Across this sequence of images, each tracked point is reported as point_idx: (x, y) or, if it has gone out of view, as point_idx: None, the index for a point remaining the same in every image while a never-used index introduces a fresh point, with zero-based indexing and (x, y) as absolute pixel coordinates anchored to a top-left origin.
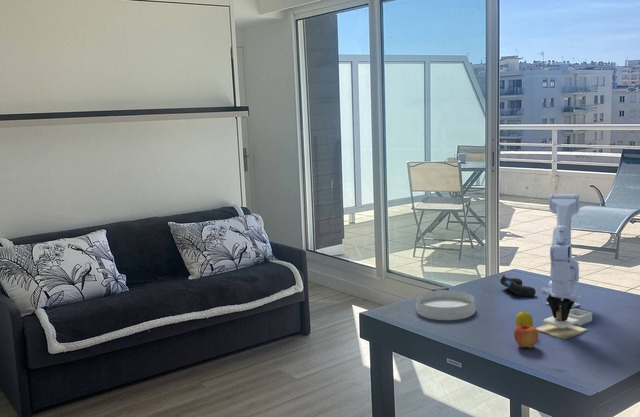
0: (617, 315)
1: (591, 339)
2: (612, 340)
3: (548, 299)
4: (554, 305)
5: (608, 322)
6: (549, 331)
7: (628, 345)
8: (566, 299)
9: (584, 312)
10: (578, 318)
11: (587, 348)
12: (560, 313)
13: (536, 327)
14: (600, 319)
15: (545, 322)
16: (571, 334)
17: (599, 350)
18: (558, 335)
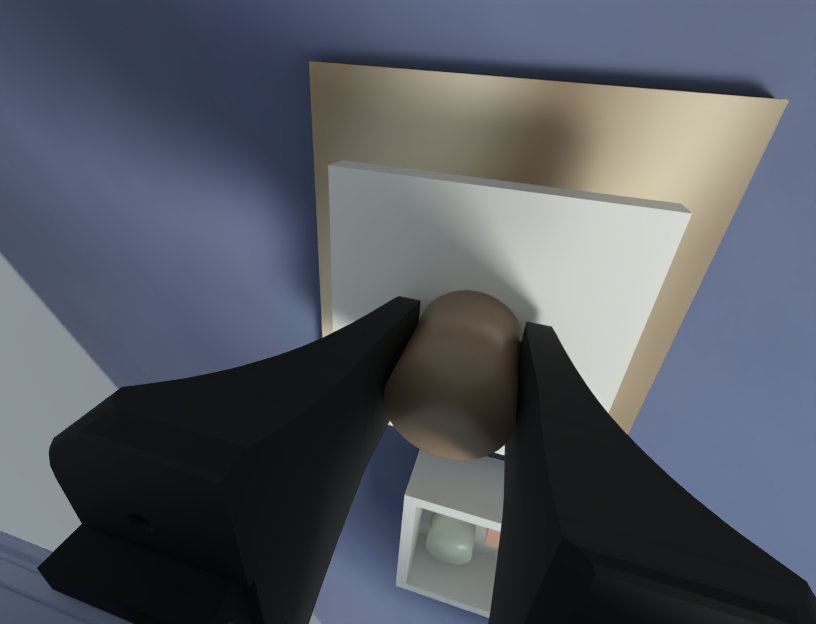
0: (367, 612)
1: (204, 236)
2: (135, 300)
3: (714, 589)
4: (531, 469)
5: None
6: (539, 134)
7: (43, 275)
8: (120, 594)
9: (452, 588)
10: (420, 486)
11: (69, 5)
12: (417, 351)
13: (759, 157)
14: (393, 557)
15: (633, 199)
16: (326, 206)
17: (9, 44)
18: (394, 84)
